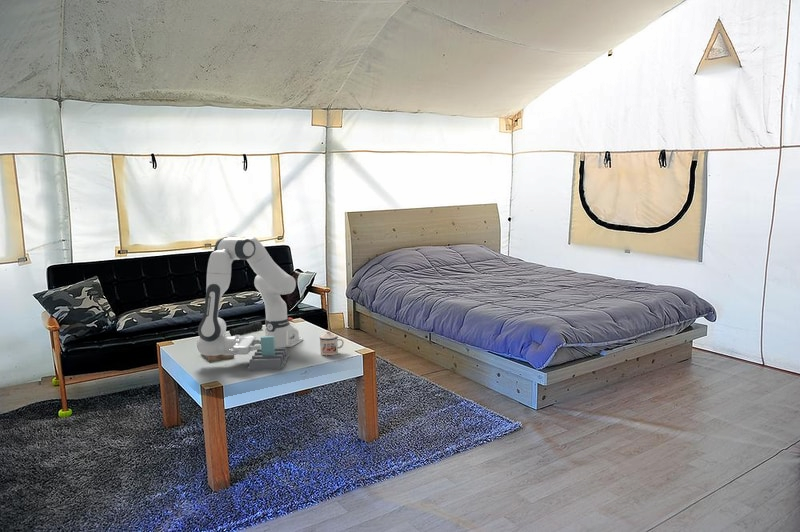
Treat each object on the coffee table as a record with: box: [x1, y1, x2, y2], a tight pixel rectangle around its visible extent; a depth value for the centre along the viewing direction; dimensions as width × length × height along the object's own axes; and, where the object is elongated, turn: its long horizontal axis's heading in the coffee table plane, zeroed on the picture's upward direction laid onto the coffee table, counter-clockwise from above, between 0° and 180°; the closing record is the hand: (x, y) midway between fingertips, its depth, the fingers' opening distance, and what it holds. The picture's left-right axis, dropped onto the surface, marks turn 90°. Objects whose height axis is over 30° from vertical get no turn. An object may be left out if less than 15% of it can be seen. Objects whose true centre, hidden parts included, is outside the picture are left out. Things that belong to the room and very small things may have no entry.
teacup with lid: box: [319, 330, 345, 357], centre depth 294 cm, size 12×9×12 cm
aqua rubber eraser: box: [260, 335, 275, 355], centre depth 280 cm, size 2×6×12 cm, turn 93°
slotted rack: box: [247, 347, 289, 371], centre depth 281 cm, size 20×16×5 cm
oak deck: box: [202, 355, 235, 362], centre depth 296 cm, size 12×16×4 cm
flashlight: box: [228, 321, 263, 336], centre depth 341 cm, size 5×21×5 cm, turn 143°
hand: (262, 344), depth 279 cm, fingers open, 8 cm apart
